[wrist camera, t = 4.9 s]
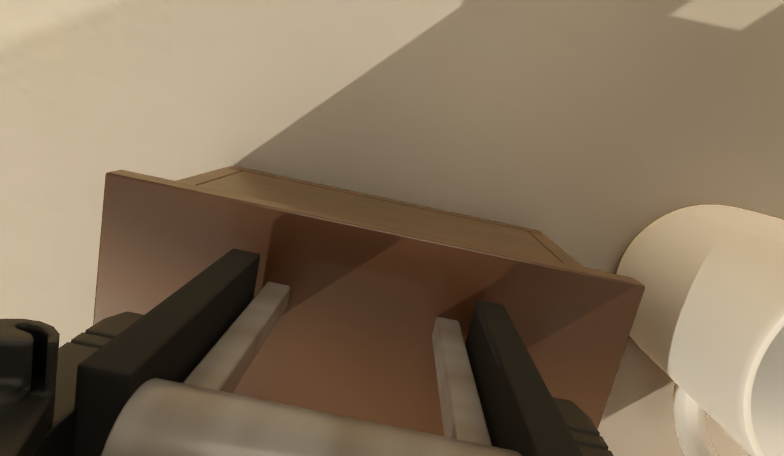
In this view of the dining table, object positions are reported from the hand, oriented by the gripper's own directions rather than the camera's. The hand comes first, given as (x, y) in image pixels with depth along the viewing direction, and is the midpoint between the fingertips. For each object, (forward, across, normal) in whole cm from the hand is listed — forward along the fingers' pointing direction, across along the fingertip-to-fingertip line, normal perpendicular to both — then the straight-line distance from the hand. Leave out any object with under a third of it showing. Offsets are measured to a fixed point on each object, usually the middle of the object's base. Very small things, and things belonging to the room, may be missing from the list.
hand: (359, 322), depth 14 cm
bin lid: (+2, 0, -6) cm, 6 cm away
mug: (+12, +16, -1) cm, 20 cm away
